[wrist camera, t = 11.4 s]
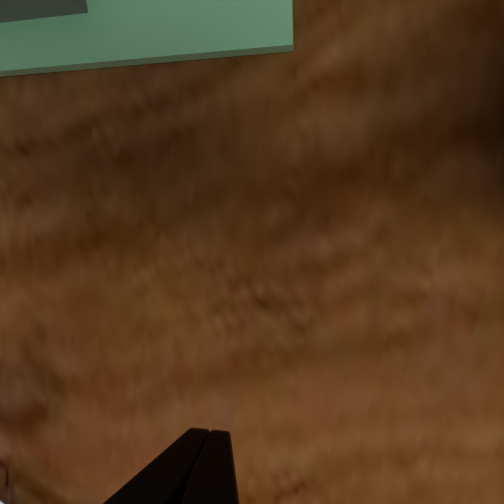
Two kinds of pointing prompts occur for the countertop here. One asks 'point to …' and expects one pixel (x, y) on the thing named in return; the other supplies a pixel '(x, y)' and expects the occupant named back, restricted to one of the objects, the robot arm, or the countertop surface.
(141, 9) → the board
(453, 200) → the countertop surface
